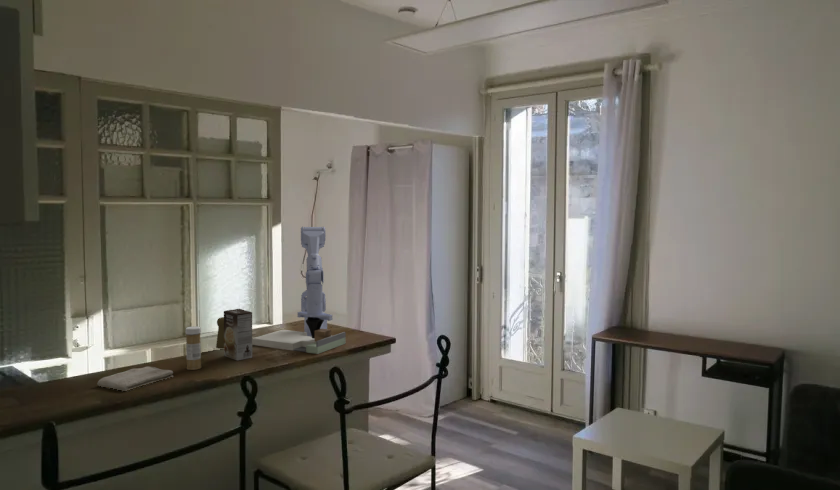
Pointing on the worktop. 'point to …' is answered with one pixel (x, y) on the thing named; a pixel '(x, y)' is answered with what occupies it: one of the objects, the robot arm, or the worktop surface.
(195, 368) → the sprinkles bottle
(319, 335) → the walnut block
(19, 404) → the worktop surface
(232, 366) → the worktop surface
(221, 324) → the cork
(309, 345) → the trap deck
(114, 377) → the washcloth
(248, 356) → the coffee box
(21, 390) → the worktop surface
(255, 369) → the worktop surface
